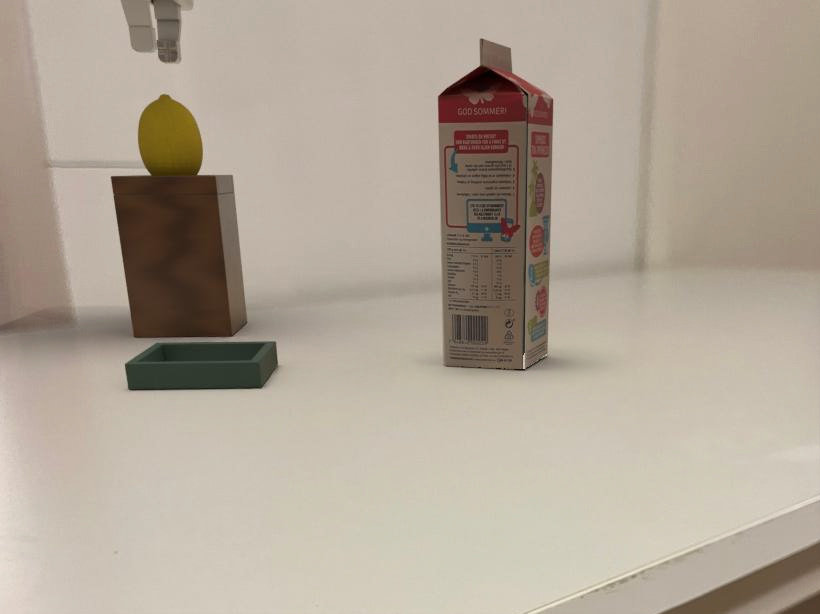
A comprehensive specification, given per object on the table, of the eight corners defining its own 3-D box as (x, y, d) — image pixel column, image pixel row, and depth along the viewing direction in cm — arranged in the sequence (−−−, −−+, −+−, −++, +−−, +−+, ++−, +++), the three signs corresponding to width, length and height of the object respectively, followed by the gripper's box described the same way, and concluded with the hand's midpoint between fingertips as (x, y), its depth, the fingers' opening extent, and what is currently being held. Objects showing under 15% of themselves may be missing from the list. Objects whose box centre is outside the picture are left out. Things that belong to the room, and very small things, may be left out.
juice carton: (443, 365, 79) (436, 40, 70) (471, 351, 85) (468, 49, 75) (524, 370, 77) (528, 36, 68) (547, 355, 83) (554, 46, 73)
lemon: (139, 193, 93) (126, 95, 90) (199, 192, 95) (189, 96, 92) (151, 194, 89) (138, 91, 85) (214, 193, 91) (203, 92, 88)
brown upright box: (133, 337, 93) (110, 176, 87) (156, 323, 101) (136, 175, 95) (232, 336, 93) (215, 175, 88) (247, 322, 101) (232, 174, 96)
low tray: (128, 389, 71) (124, 363, 70) (159, 366, 79) (155, 342, 78) (261, 387, 71) (258, 361, 70) (278, 364, 80) (276, 341, 79)
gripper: (130, -108, 91) (150, 68, 97) (56, -179, 72) (86, 44, 78) (201, -106, 91) (216, 69, 97) (145, -177, 73) (169, 45, 78)
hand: (158, 58), depth 87 cm, fingers open, 8 cm apart
